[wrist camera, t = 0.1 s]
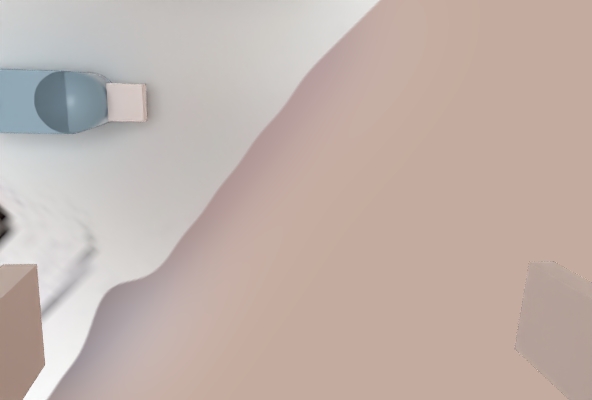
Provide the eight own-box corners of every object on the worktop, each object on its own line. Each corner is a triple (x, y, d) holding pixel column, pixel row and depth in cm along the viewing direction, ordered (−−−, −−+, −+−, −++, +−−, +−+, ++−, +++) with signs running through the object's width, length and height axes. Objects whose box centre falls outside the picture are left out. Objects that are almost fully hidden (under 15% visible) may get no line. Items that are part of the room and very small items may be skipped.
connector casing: (-24, 69, 35) (-74, 66, 30) (149, 74, 37) (135, 73, 31) (-18, 123, 36) (-64, 131, 31) (151, 127, 38) (138, 135, 32)
